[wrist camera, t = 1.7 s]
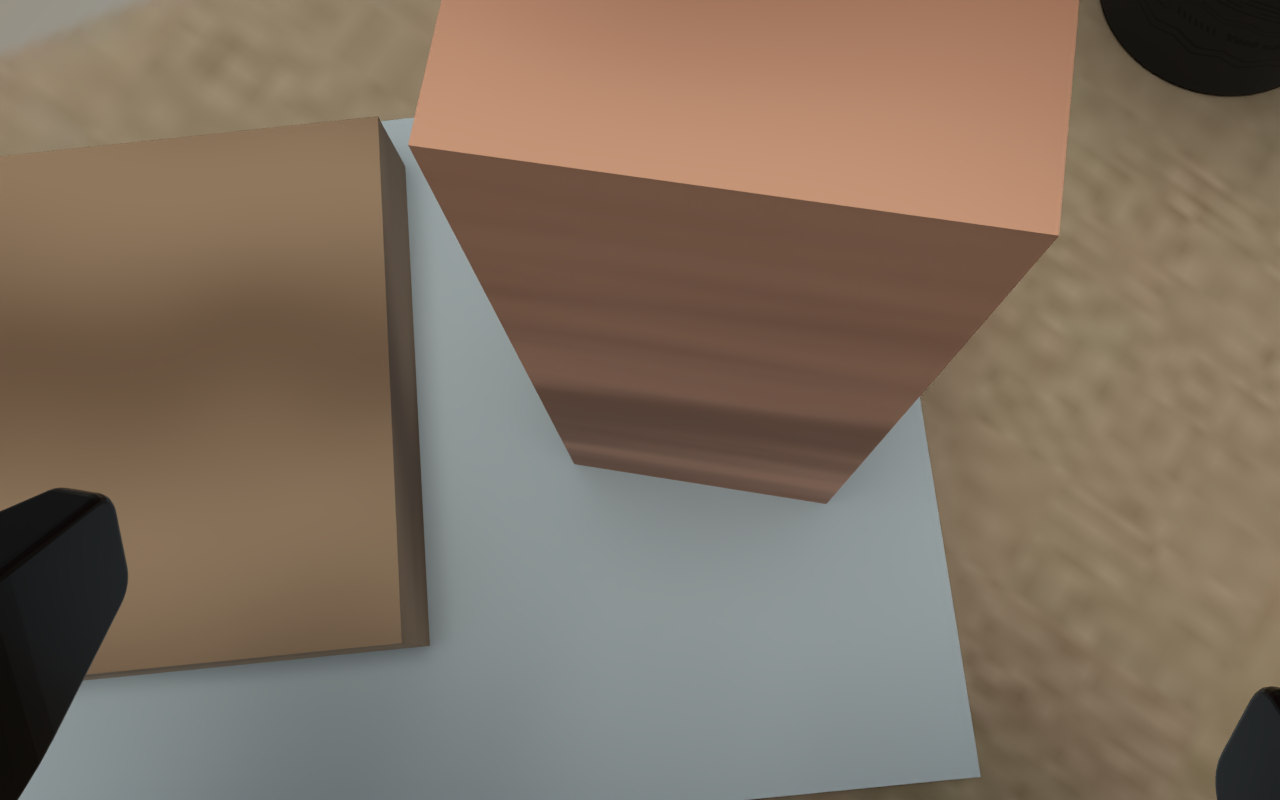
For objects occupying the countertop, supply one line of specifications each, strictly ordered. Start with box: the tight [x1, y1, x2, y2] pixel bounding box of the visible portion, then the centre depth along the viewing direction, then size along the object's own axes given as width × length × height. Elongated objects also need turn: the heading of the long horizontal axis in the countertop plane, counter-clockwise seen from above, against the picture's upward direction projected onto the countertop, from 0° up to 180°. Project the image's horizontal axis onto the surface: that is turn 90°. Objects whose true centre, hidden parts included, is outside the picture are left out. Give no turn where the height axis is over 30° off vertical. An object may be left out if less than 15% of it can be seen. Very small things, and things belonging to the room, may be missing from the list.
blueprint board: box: [18, 118, 981, 800], centre depth 21 cm, size 13×18×1 cm
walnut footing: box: [0, 116, 430, 681], centre depth 20 cm, size 9×9×2 cm
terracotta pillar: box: [408, 0, 1079, 504], centre depth 14 cm, size 4×4×12 cm
